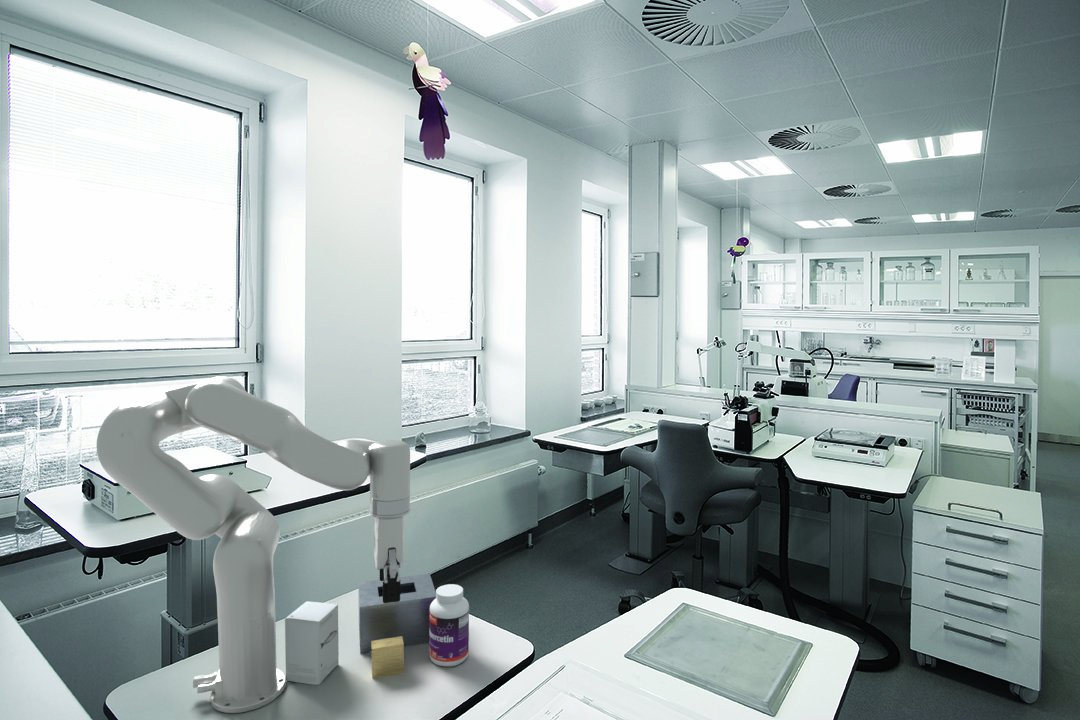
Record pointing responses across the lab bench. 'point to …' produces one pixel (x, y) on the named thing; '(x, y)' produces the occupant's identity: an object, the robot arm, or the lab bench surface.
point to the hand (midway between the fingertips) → (389, 590)
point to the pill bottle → (449, 626)
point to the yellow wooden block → (387, 657)
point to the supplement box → (311, 642)
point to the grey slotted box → (396, 612)
